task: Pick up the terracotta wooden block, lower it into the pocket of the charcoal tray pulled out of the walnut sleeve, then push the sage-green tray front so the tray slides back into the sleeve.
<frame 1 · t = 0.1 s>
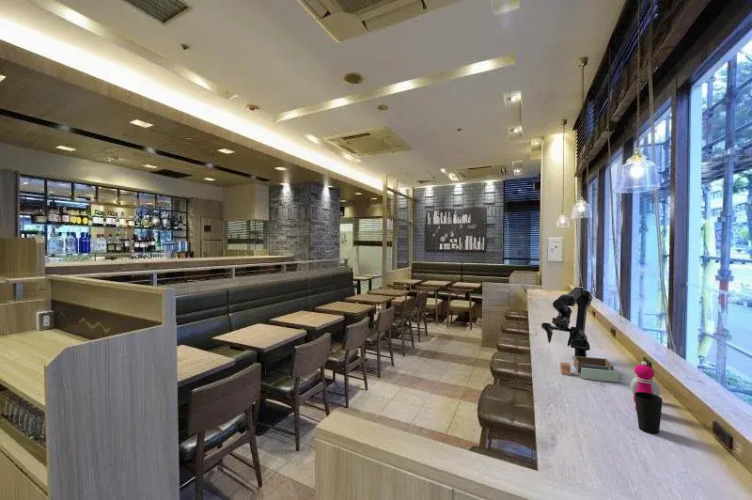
hand: (558, 344, 170), 15 cm above the counter, tool tilted 35°, fingers open, 9 cm apart
tray: (596, 370, 164), point 3 cm above the counter, slide at 7.0 cm
donut: (645, 400, 138), on the counter
cup: (648, 430, 116), on the counter
sleeve: (593, 370, 171), on the counter
pepper mill: (645, 412, 128), on the counter
block: (565, 373, 169), on the counter
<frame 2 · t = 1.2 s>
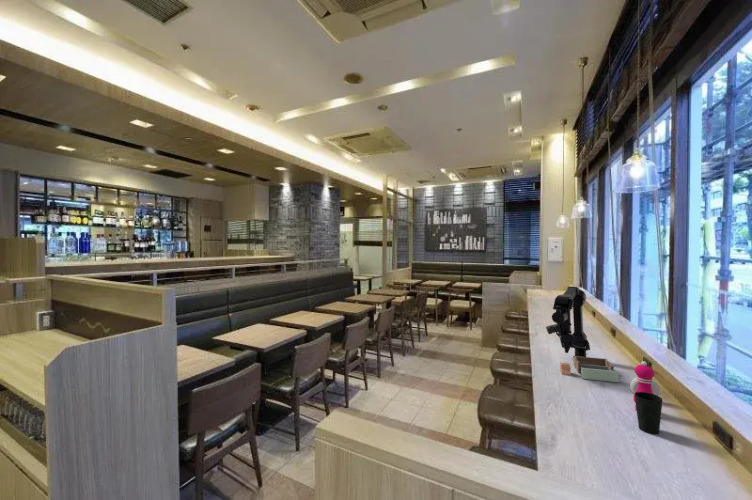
hand: (564, 350, 169), 12 cm above the counter, tool pointing down, fingers open, 9 cm apart
nothing on the counter moved.
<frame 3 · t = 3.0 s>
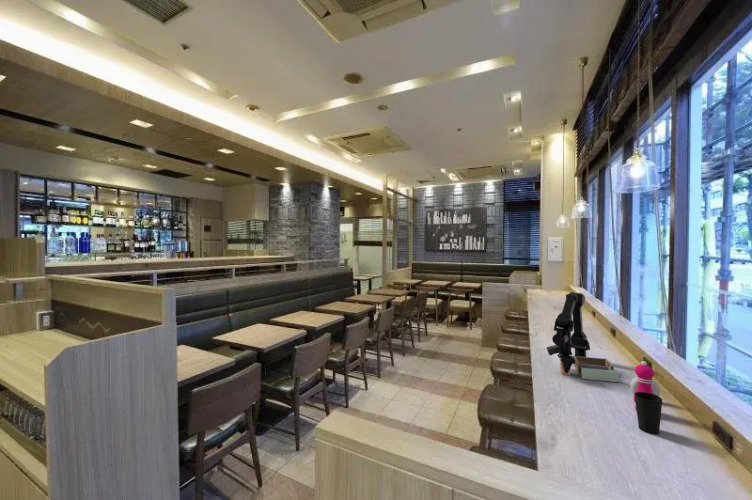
hand: (565, 371, 169), 1 cm above the counter, tool pointing down, fingers closed on block, 4 cm apart
block: (565, 373, 169), on the counter, touching gripper
everything else where it was.
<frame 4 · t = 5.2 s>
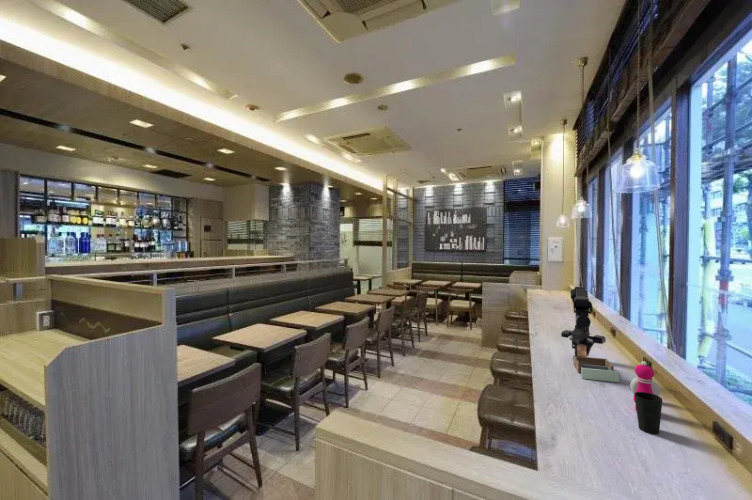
hand: (583, 353, 167), 11 cm above the counter, tool pointing down, fingers closed on block, 4 cm apart
block: (583, 355, 167), point 10 cm above the counter, touching gripper
everything else where it was.
when the fingers open (3 cm above the counter, at t = 7.4 s): block drops 1 cm, resting on tray.
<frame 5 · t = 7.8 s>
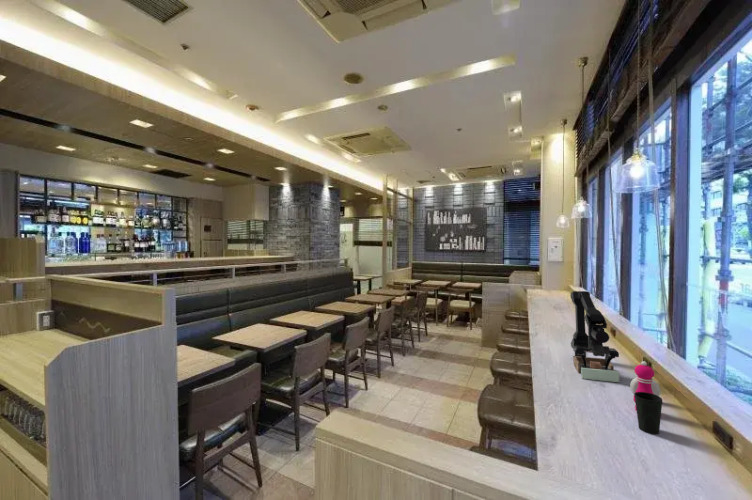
hand: (595, 367, 166), 3 cm above the counter, tool pointing down, fingers open, 9 cm apart
tray: (596, 370, 164), point 3 cm above the counter, slide at 7.0 cm, touching block
block: (595, 372, 166), point 1 cm above the counter, touching tray
everything else where it was.
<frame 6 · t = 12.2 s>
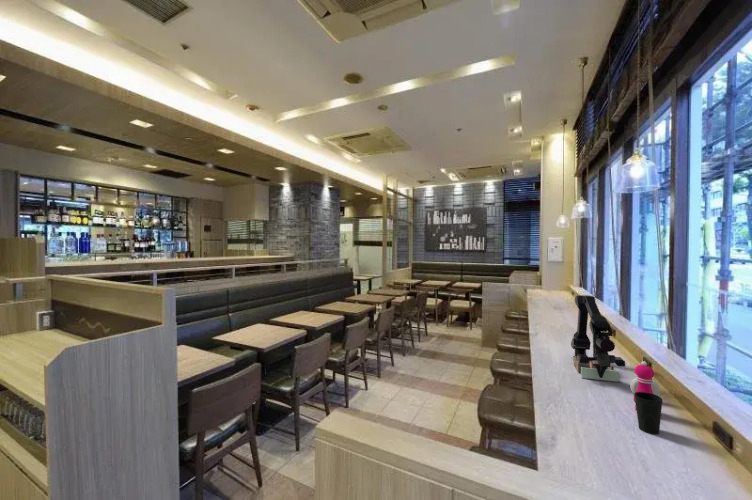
hand: (600, 377, 158), 2 cm above the counter, tool pointing down, fingers closed, pressing on tray
tray: (596, 370, 165), point 3 cm above the counter, slide at 6.2 cm, touching block, gripper
everything else where it was.
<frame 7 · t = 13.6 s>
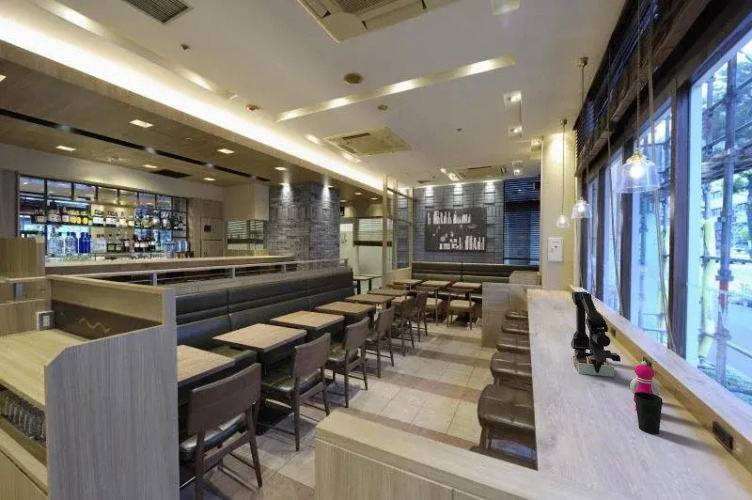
hand: (597, 372, 164), 2 cm above the counter, tool pointing down, fingers closed, pressing on tray
tray: (593, 366, 171), point 3 cm above the counter, slide at -0.1 cm, touching block, gripper
block: (592, 368, 173), point 1 cm above the counter, touching tray
everything else where it was.
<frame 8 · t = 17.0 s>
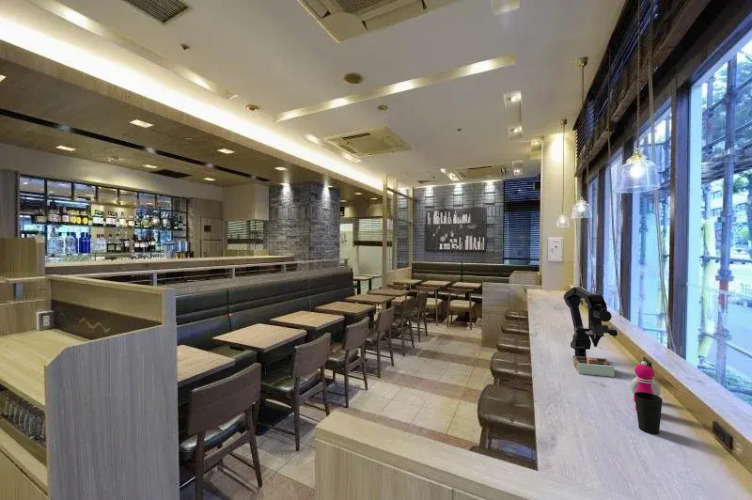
hand: (595, 346, 173), 12 cm above the counter, tool pointing down, fingers closed
tray: (593, 366, 171), point 3 cm above the counter, slide at 0.0 cm, touching block
everything else where it was.
at the end: tray slide at 0.0 cm; block inside the target area on the sleeve (0.2 cm from its centre), point 1.0 cm above the sleeve's base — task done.
